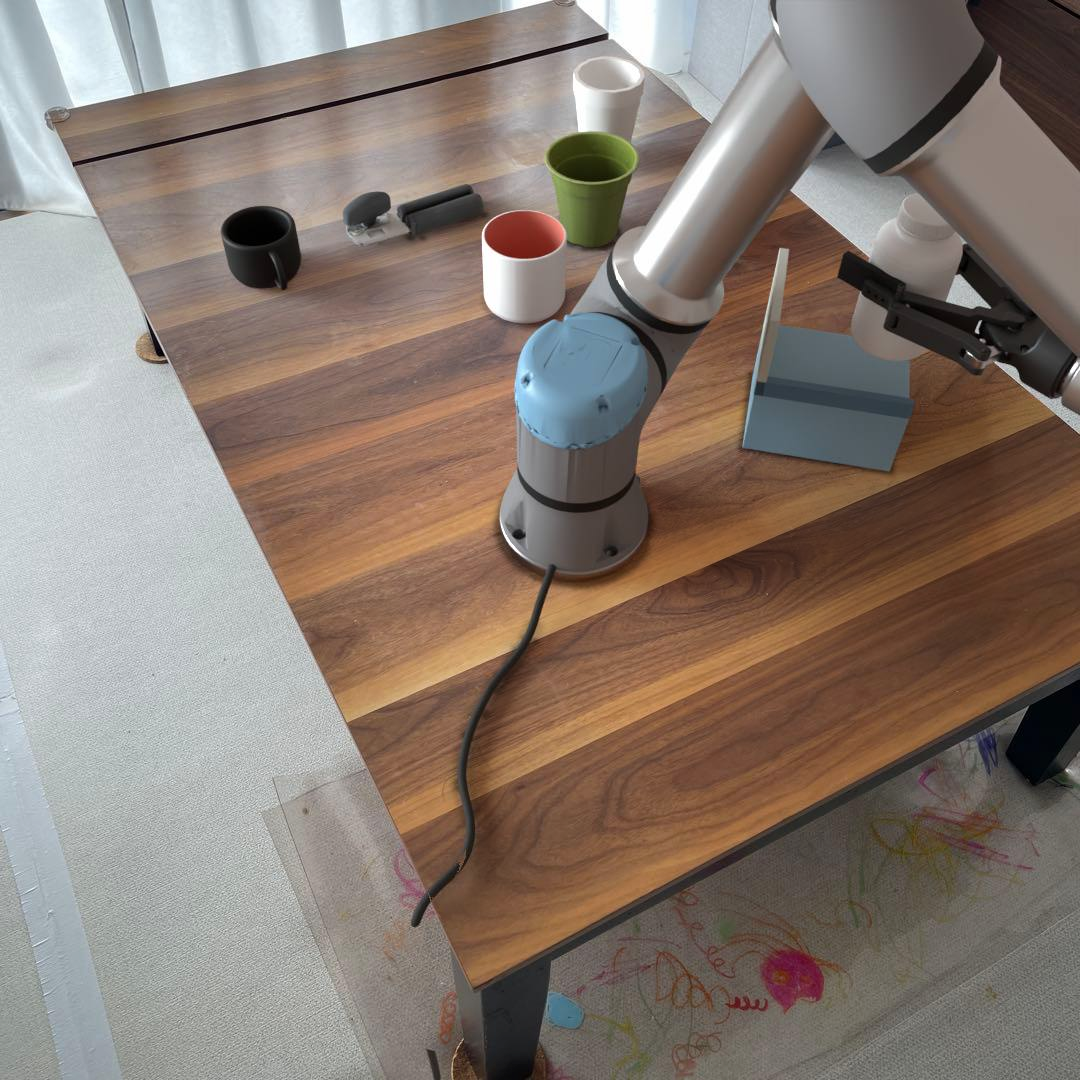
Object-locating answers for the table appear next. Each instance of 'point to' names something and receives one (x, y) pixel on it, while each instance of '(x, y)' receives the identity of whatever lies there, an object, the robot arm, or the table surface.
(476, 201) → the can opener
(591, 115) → the foam cup
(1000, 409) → the table surface
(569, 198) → the plant pot
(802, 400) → the bookend
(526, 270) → the cup
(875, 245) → the pill bottle
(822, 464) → the table surface
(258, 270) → the mug
